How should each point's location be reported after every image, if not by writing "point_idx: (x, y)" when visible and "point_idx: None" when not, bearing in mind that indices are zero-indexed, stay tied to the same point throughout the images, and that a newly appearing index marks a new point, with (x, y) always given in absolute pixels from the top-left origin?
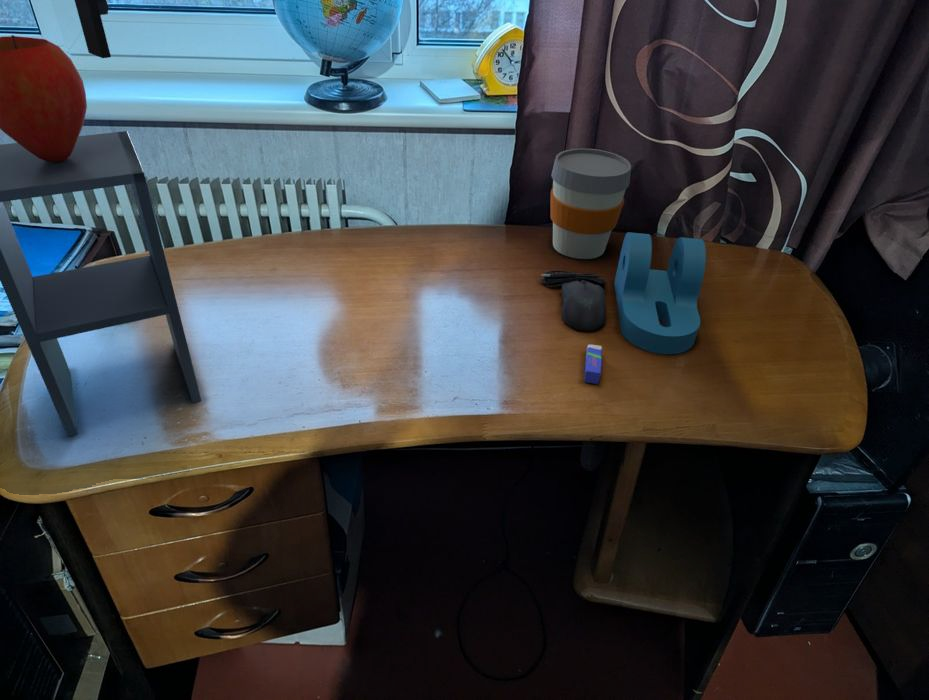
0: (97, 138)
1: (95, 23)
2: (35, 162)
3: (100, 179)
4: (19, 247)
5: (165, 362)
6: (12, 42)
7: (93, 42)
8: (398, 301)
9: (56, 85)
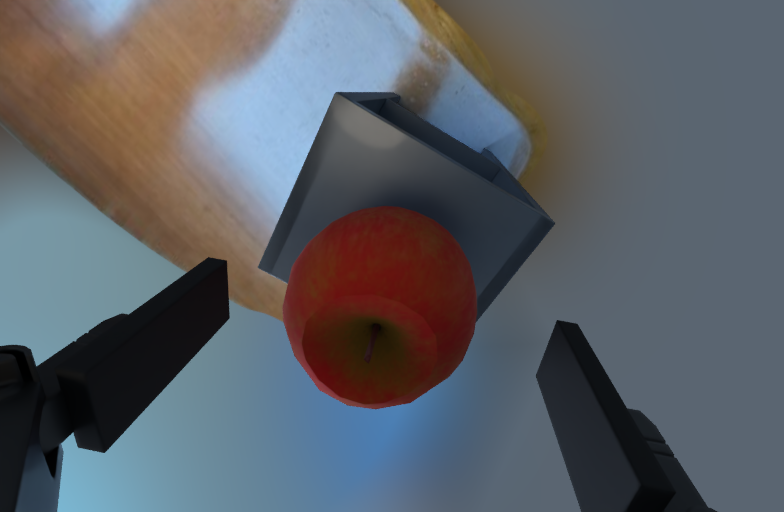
0: None
1: (176, 297)
2: None
3: (396, 128)
4: None
5: None
6: (358, 377)
7: (212, 298)
8: (141, 42)
9: (373, 220)
